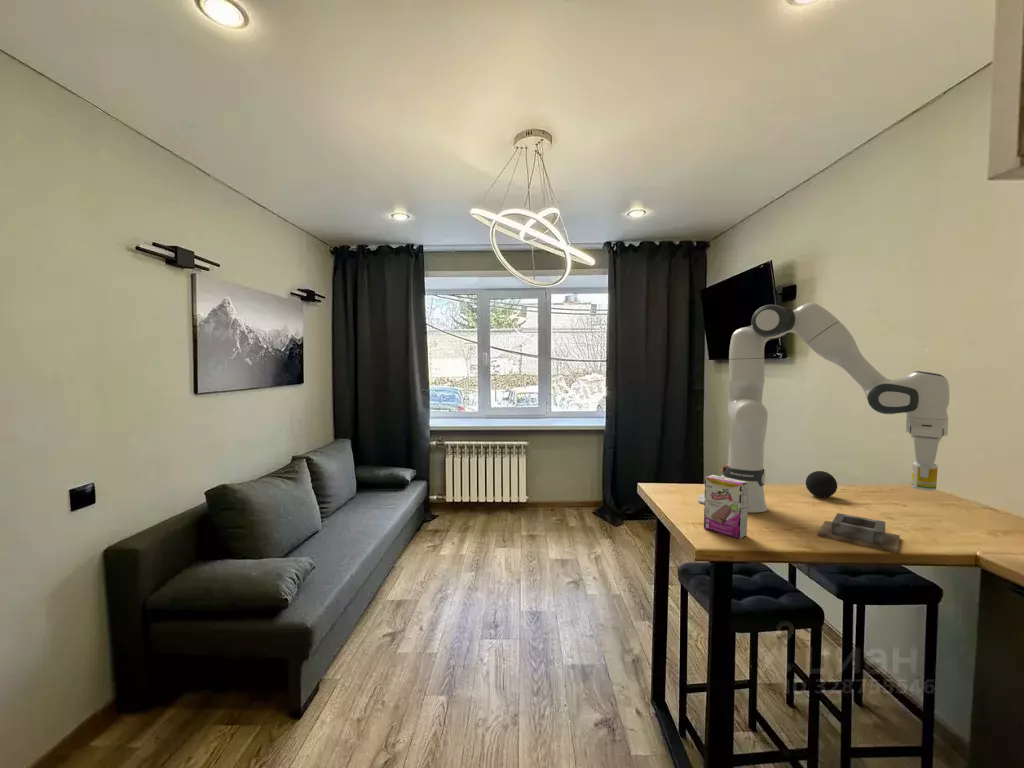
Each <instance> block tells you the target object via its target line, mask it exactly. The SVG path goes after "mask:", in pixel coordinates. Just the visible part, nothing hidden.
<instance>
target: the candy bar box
mask: <svg viewBox="0 0 1024 768" xmlns="http://www.w3.org/2000/svg"><path fill="white" fill-rule="evenodd" d="M704 494H705V503H704V504H703V507H704V508H703V511H704V513H703V514H704V515H703V529H704V530H709V531H712V532H715V533H718V534H721V535H725V536H728V537H731V538H735V539H737V538H738V539H737V540H741V539H742V537H743V538H745V537H747V536H746V535H748V513H749V512H748V511H747V510H748V482H745V481H741V480H736V479H731V478H726V477H722V475H716V474H710V475H707V476H705V477H704ZM744 536H745V537H744ZM740 538H741V539H740Z"/></svg>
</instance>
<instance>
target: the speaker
mask: <svg viewBox="0 0 1024 768" xmlns="http://www.w3.org/2000/svg"><path fill="white" fill-rule="evenodd" d="M805 486H806V487H805V488H806V489H807V490H808V492H809V493H810V494H811V495H813V496H815V497H818V498H824V499H825V498H829V497H832V496H834V494H836V492H837V490H838V482H837V480H836V478H835V477H834V476H833V475H832V474H831V473H829V472H827V471H823V470H816V471H812V472H810V473H809V474H808V475H807V477H806V479H805Z"/></svg>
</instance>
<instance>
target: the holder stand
mask: <svg viewBox="0 0 1024 768" xmlns="http://www.w3.org/2000/svg"><path fill="white" fill-rule="evenodd" d="M816 533H817V537H821V538H825V539H830V540H835V541H838V542H843V543H849V544H853V545H858V546H862V547H867V548H872V549H875V548H876V550H880V549H881V551H885V552H890V553H895V554H898V552H899V551H898V550H899V546H900V539H901V538H900V536H901V535H900V534H895V533H890V532H886V521H883V520H877V519H872V518H867V517H861V516H857V515H849V514H845V513H840V512H838V513H836V515H835V516H834V518H833V520H832V521H830V520H824V522H823V523H822V525H821V526H820V528H819V529H818V531H817V532H816Z"/></svg>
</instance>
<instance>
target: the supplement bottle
mask: <svg viewBox="0 0 1024 768" xmlns="http://www.w3.org/2000/svg"><path fill="white" fill-rule="evenodd" d="M911 466H912V467H911V469H912V470H911V482H910V483H911V485H910V486H911V488H913V489H916V490H921V491H927V492H933V491H936V490H937V483H938V465H937V464H936V463H934V464H933V465H930V468H929V477H928V478H923V477H920V464H918V463H917V462H916V461H914V462H913V463H912V465H911Z"/></svg>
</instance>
